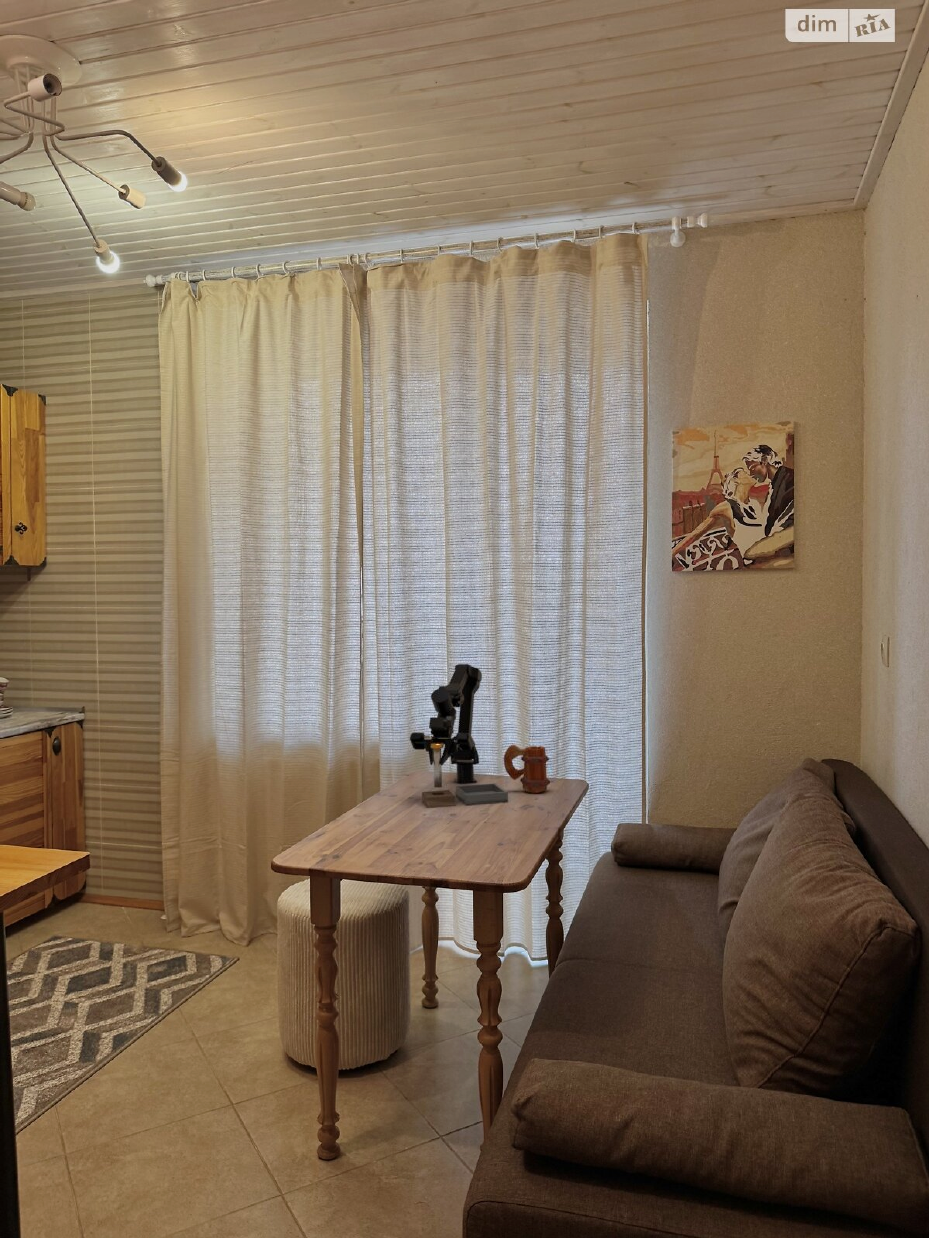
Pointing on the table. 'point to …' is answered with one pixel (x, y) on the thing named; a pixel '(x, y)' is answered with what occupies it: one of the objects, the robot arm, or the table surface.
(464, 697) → the robot arm
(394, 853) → the table surface
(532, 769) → the mug
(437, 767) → the pin
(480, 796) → the tray
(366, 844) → the table surface
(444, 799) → the hitch block
